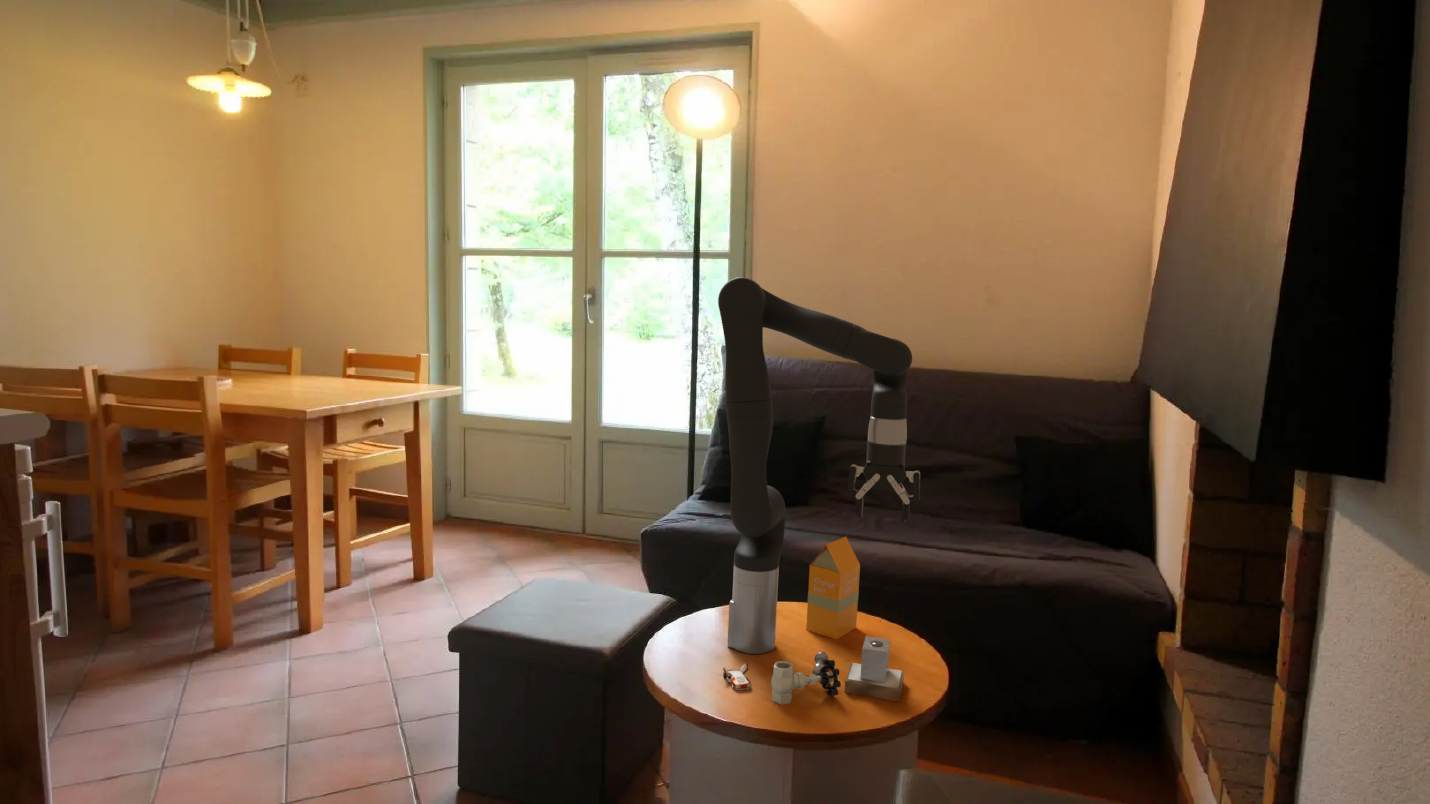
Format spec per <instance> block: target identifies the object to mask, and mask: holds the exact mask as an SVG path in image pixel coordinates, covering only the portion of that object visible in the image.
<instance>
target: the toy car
mask: <svg viewBox="0 0 1430 804" xmlns="http://www.w3.org/2000/svg"><path fill="white" fill-rule="evenodd" d="M722 671H723V679H725V680H726V681H727V682H728V683H729V685H730V686H731V688H732V689H733V690H734V691H735V690H736V691H744V690H749V689H751V687H752V682H751V680H750V679H749V678H748V677H747V676H745V674H747V672H748V671H749V664H748V663H747V664H746V663H745V662H744V663H743V664H742V665H741V668H740V669H727V668H726V666H725V665H724V667H722ZM729 677H730V678H729Z"/></svg>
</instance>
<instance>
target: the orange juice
mask: <svg viewBox="0 0 1430 804" xmlns="http://www.w3.org/2000/svg"><path fill="white" fill-rule="evenodd" d="M860 570H861V563H860V561H859V559H858V558H857V556H856V554H855V552H854V549H853V548H852V546H851V544H850V541H849V540H848V537H847V536H844V537H840V538H838V539H837V540H833V541H832V542H829V543H827V544H826V545H825V546H824V547H823V548H822V550H820V551H819V553H818V555H817V556H816V557H815V558H814V559H813V561H811V563H810V564H809V576H808V592H807V612H806V628H805V629H806V630H807V631H810V632H812V633H815V634H819V635H822V636H825V637H828V638H830V639H834V640H837V639H839V638H841V637H842V636H844V635H846V634H847V633H849V632H851V631H853V630H854V629H856V628H857V619H858V605H859V603H858V602H859V596H860V595H859V593H860V591H859V590H860V588H859V587H860V572H861V571H860Z"/></svg>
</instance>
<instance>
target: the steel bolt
mask: <svg viewBox="0 0 1430 804" xmlns="http://www.w3.org/2000/svg"><path fill="white" fill-rule="evenodd" d="M824 660H830V659H829V655H828V654H827V652H825V651H823V650H821V651H818V652H817V653H816V654H815V655H814V662H815V665H814V667H813V670H812V675H813V674H815V675H816V676H818V674H819V673H820V669H821V668H822V667H826V664H823V661H824Z"/></svg>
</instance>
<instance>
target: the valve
mask: <svg viewBox="0 0 1430 804" xmlns="http://www.w3.org/2000/svg"><path fill="white" fill-rule="evenodd" d="M823 664H826V665H825V666H824V667H822V668H821V669H820V673H819V674H818V676H816V675H815V674H813V673H812V674H807V675H804V673H803V672H801V671H798V672H794V664H793V663H792V662H789V661H786V660H785V661H784V660H779V661H775V662H774V665H773V671H772V672H773V675H772V676H771V680H770V685H771V689H772V697H771V701H772V702H774V703H777V704H779V705H788V704H791V702H792V699H793V698H792V697H793V691H794V690H795V689H796V690H797V691H799V690H804V689H805V686H807V685H808V686H812V685H817V683H819V684H820V685H821V688H822V689H824V690H825V693H826V695H827V696H832V697H834V696H835V697H836V696H839V690H838V688H841V687H842V686H841V685H842V684H841V681H840V680H838V679H839V678H838V676H840V673H841V672H840V669H839V668H835V667H836V661H835V660H834V659H828V660H824V661H823ZM830 671H831V672H830ZM831 683H832V684H831Z"/></svg>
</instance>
